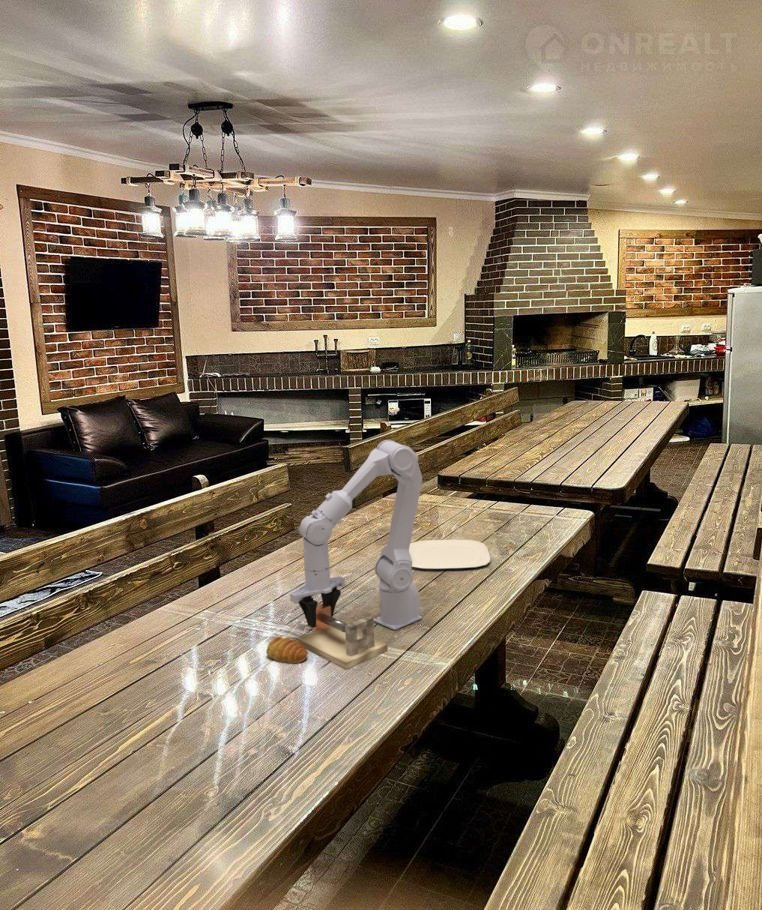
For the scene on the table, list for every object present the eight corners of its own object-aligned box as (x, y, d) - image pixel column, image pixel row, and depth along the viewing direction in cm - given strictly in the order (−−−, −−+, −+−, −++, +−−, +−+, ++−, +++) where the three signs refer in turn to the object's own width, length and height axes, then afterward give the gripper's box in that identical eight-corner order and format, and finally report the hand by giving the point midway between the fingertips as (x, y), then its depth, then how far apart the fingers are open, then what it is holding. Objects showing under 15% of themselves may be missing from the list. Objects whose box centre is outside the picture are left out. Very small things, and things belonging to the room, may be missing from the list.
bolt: (325, 621, 180) (324, 602, 179) (353, 634, 173) (352, 615, 172) (310, 627, 177) (309, 608, 176) (338, 641, 170) (337, 621, 169)
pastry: (315, 656, 170) (314, 640, 169) (295, 669, 164) (294, 652, 164) (283, 646, 175) (282, 631, 174) (263, 659, 170) (261, 643, 169)
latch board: (337, 627, 183) (336, 595, 182) (387, 650, 171) (386, 616, 169) (297, 644, 176) (295, 610, 174) (346, 669, 163) (344, 633, 161)
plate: (494, 571, 217) (494, 566, 217) (405, 574, 218) (405, 568, 218) (484, 543, 242) (484, 538, 242) (404, 545, 243) (404, 540, 242)
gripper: (302, 580, 167) (305, 637, 170) (352, 563, 177) (354, 618, 180) (283, 572, 173) (287, 628, 175) (333, 556, 182) (335, 609, 185)
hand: (320, 622), depth 178 cm, fingers closed on bolt, 4 cm apart
